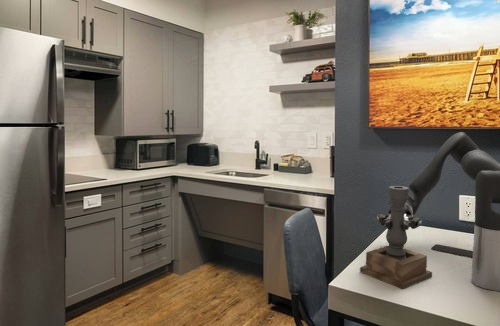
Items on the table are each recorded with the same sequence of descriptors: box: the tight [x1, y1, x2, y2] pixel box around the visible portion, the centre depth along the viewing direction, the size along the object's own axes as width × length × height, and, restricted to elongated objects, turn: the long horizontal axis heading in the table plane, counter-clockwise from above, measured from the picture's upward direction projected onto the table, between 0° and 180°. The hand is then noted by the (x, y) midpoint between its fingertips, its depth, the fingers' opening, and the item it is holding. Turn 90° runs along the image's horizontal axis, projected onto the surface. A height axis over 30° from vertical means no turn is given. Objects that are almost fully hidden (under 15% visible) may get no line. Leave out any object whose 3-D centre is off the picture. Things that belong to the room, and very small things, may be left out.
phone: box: [430, 243, 473, 259], centre depth 136 cm, size 7×1×15 cm
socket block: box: [359, 245, 433, 290], centre depth 115 cm, size 15×15×6 cm
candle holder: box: [385, 185, 410, 260], centre depth 114 cm, size 6×6×25 cm
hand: (396, 226), depth 112 cm, fingers closed on candle holder, 4 cm apart
